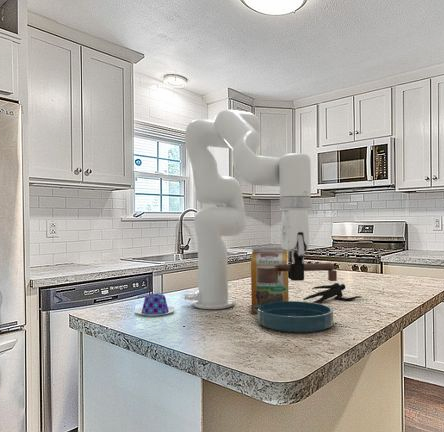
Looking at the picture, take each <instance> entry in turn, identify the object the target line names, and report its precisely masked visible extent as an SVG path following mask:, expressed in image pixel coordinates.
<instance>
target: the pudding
mask: <svg viewBox="0 0 444 432" xmlns="http://www.w3.org/2000/svg"><path fill="white" fill-rule="evenodd" d="M175 311H176V308H174V307H172V306H168V303H167V299H166V295H164V294H162V293H150V294H146V296H145V297H144V300H143V305H142V307H140V308H137V309H135V310H134V312H135V313H136V314H138V315H143V316H149V317H155V316H156V317H158V316H163V315H167V314H171V313H173V312H175Z"/></svg>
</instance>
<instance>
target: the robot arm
mask: <svg viewBox="0 0 444 432" xmlns="http://www.w3.org/2000/svg"><path fill="white" fill-rule="evenodd" d="M261 127H262V126H261V121H260V119H259V118H258V117H257V115H255V114H254V113H252V112H249V111H248V112H247V111H243V110H242V111H241V110H236V109H224V110H221V111H219V112H218V113H217V114H216V115H215V118H214V119H206V118H198V119H193V120H192V121H189V123H188V124H187V126H186V129H185V133H184V146H185V147H184V148H185V150H186V154H187V157H188V159H189V162H190V168H191V175H192V182H193V189H194V195H195V199H196V201H197V202H198V203H200V204H204V205H222V206H207V207H203V208H201V209H199V210H198V211H197V212H196V213H195V215H194V218H193V225H194V231H195V235H196V243H197V274H198V275H197V279H198V281H197V282H198V284H197V285H198V289H197V290H196V292H194V293H190V292H189V293H184V300H186V301H187V300H188V301H193V306H194V308H198V309H203V310H223V309H228V308H231V307H233V306H234V301H233V300H231V299H230V298H229V273H228V272H229V270H228V269H229V268H228V267H229V265H228V264H229V263H228V248H227V246H226V243H225V242H224V240H223V238H222V237H234V236H235V237H237V236H240V235H241V234H243V233H244V232H245V230H246V226H247V215H246V209H245V203H244V197H243V196H244V195H243V191H242V186H241V184H240V182H239V181H238V180H237V179H236V178H235V177H234V176H228V175H221V174H220V173H219V170H218V163H217V160H216V158H215V157H214V154H212V152H211V151H210V150H209V149H208V147H213V148H220V149H231V150H232V153H231V161H232V166H233V168H234V170H235V171H236V172H237V173H238V174H239V176H240V177H241V178H242V179H243V180H244V181H245V182H246V183H248V184H249V185H252V186H261V187H262V186H264V187H265V186H266V187H279V211H281V212H282V215H281V228H280V229H281V232H280V233H281V234H280V247H281V248H282V249H284V250H286V251H287V252H288V264H290V271H288V280H291V281H294V282H296V281H297V282H299V281H301V282H303V281H304V280H305V271H304V264H305V252H307V251H308V250H309V249H310V248H309V247H310V228H309V227H310V225H309V213H308V211H311V210H312V197H311V196H312V188H311V187H312V184H311V158H310V156H309V154H307V153H302V152H301V153H300V152H294V153H286V154H283V155H280V157H277V156H276V157H275V156H267V155H258V154H256V153H255V152H256V151H257V150H258V149H259V147H260V144H261V135H260V132H261Z"/></svg>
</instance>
